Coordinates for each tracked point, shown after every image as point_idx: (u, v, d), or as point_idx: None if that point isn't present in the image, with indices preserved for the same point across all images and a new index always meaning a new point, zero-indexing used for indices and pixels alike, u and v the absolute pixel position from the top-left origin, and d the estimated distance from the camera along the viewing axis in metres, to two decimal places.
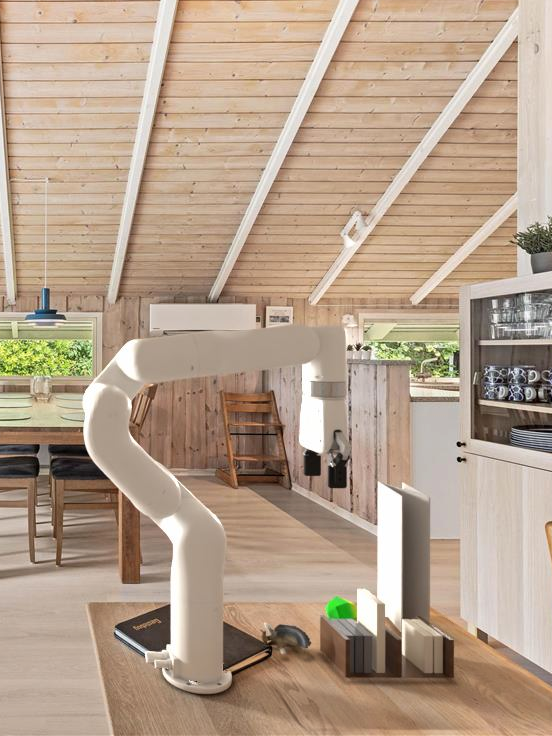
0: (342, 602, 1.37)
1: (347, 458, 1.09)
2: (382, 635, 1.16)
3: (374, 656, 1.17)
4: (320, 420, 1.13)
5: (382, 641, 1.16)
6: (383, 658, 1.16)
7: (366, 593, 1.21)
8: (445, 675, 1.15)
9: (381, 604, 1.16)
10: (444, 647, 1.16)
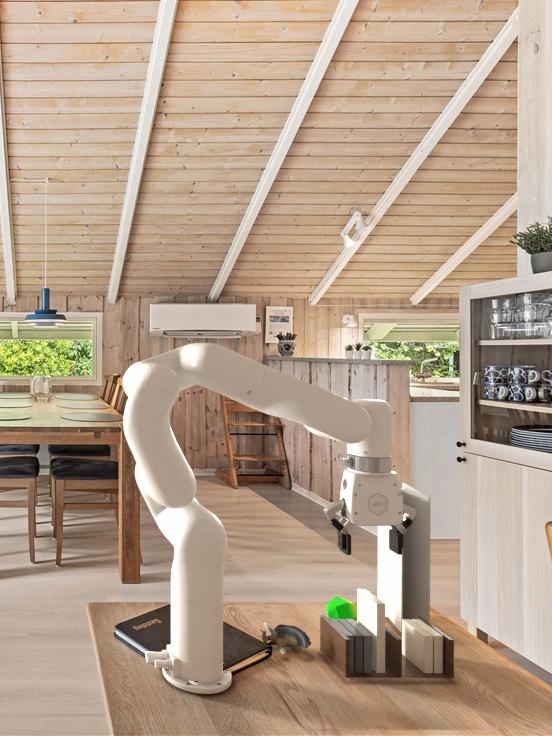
0: (342, 602, 1.37)
1: None
2: (382, 635, 1.16)
3: (374, 656, 1.17)
4: (397, 493, 1.17)
5: (382, 641, 1.16)
6: (383, 658, 1.16)
7: (366, 593, 1.21)
8: (445, 675, 1.15)
9: (381, 604, 1.16)
10: (444, 647, 1.16)
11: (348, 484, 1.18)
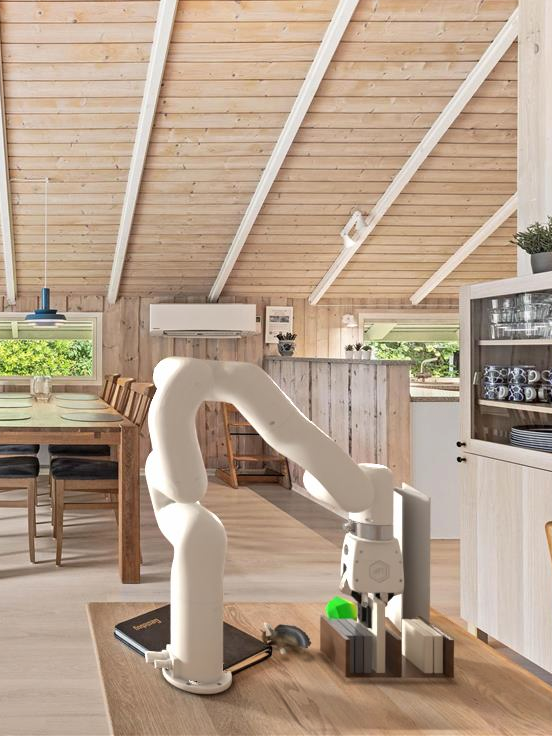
0: (342, 602, 1.37)
1: None
2: (382, 635, 1.16)
3: (374, 656, 1.17)
4: (399, 560, 1.17)
5: (383, 641, 1.16)
6: (383, 658, 1.16)
7: None
8: (445, 675, 1.15)
9: (381, 604, 1.16)
10: (444, 647, 1.16)
11: (349, 550, 1.18)
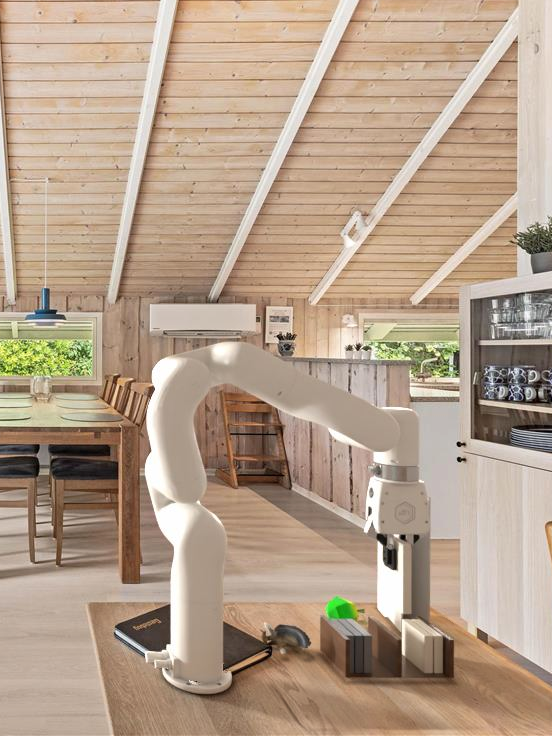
0: (342, 602, 1.37)
1: None
2: (408, 576, 1.16)
3: (400, 597, 1.17)
4: (424, 502, 1.17)
5: (409, 582, 1.16)
6: (409, 599, 1.16)
7: None
8: (445, 675, 1.15)
9: (407, 545, 1.16)
10: (444, 647, 1.16)
11: (375, 492, 1.18)
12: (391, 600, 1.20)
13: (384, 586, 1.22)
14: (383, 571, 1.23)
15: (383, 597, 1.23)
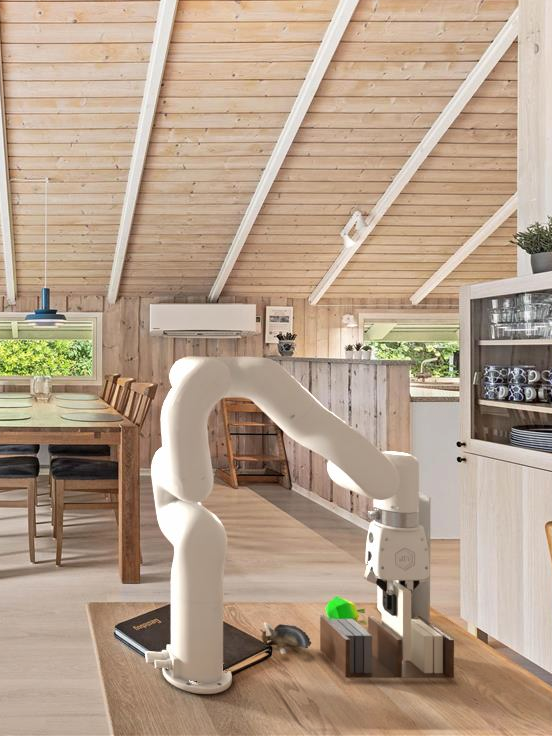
0: (342, 602, 1.37)
1: None
2: (408, 622, 1.16)
3: None
4: (424, 548, 1.17)
5: (408, 628, 1.16)
6: (409, 645, 1.16)
7: None
8: (445, 675, 1.15)
9: (407, 591, 1.16)
10: (444, 647, 1.16)
11: (375, 538, 1.18)
12: None
13: None
14: (383, 615, 1.23)
15: None
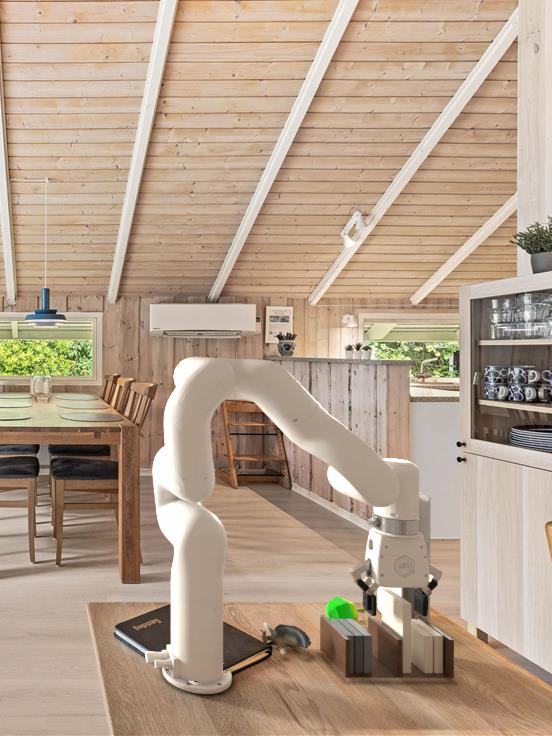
0: (342, 602, 1.37)
1: None
2: (408, 635, 1.16)
3: None
4: (424, 555, 1.17)
5: (408, 641, 1.16)
6: (409, 658, 1.16)
7: (391, 593, 1.21)
8: (445, 675, 1.15)
9: (407, 604, 1.16)
10: (444, 647, 1.16)
11: (374, 545, 1.18)
12: None
13: None
14: None
15: None
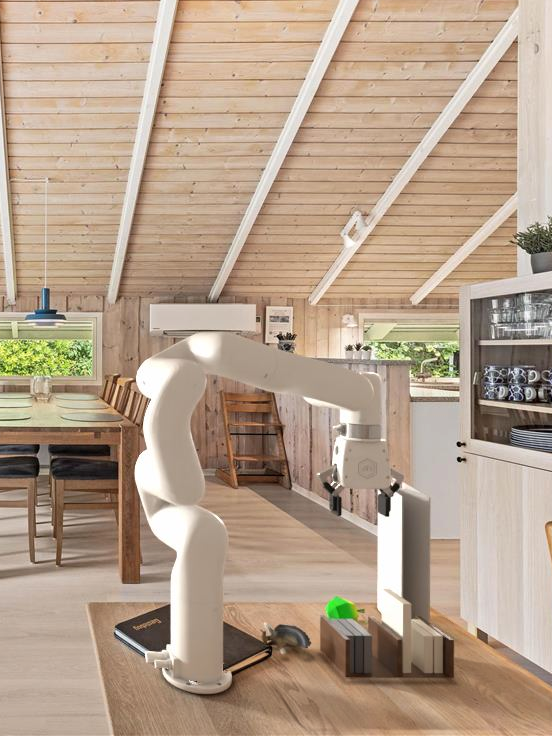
0: (342, 602, 1.37)
1: None
2: (408, 635, 1.16)
3: None
4: (386, 459, 1.25)
5: (408, 641, 1.16)
6: (409, 658, 1.16)
7: (391, 593, 1.21)
8: (445, 675, 1.15)
9: (407, 604, 1.16)
10: (444, 647, 1.16)
11: (340, 450, 1.27)
12: None
13: None
14: None
15: None
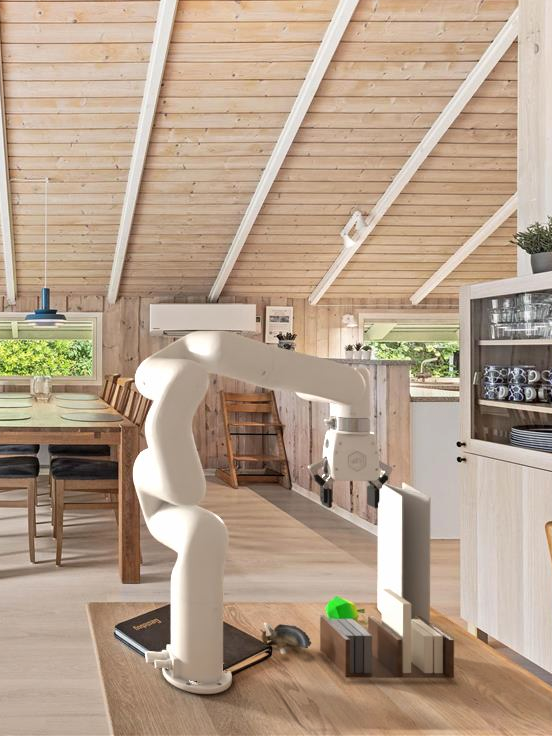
0: (342, 602, 1.37)
1: None
2: (408, 635, 1.16)
3: None
4: (375, 451, 1.28)
5: (408, 641, 1.16)
6: (409, 658, 1.16)
7: (391, 593, 1.21)
8: (445, 675, 1.15)
9: (407, 604, 1.16)
10: (444, 647, 1.16)
11: (330, 443, 1.29)
12: None
13: None
14: None
15: None
